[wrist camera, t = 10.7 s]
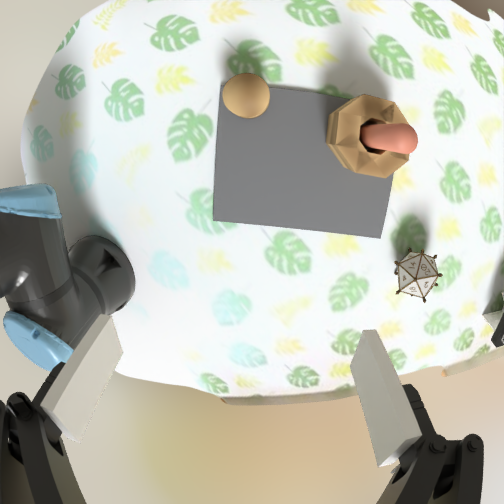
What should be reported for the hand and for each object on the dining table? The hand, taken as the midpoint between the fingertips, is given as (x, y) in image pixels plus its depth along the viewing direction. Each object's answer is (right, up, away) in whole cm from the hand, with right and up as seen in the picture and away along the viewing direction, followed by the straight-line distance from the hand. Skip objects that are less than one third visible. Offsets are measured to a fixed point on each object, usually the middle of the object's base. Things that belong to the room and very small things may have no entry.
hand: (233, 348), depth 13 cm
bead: (+16, +21, +21) cm, 34 cm away
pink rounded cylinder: (+16, +21, +21) cm, 34 cm away
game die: (+28, +3, +29) cm, 40 cm away
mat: (+9, +17, +23) cm, 31 cm away
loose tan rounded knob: (+1, +25, +20) cm, 32 cm away
